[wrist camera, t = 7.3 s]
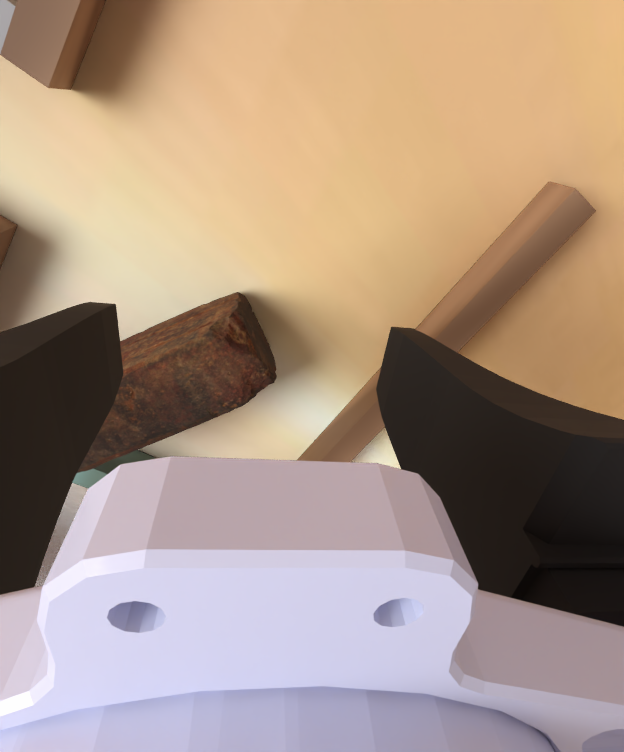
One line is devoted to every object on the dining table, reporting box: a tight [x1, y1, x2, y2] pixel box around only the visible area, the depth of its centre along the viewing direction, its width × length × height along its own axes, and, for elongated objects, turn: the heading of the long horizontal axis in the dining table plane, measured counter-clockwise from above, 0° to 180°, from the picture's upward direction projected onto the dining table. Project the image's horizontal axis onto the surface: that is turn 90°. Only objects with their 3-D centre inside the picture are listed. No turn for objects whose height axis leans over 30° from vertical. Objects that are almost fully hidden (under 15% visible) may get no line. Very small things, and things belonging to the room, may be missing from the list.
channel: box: [0, 0, 596, 489], centre depth 18 cm, size 29×26×2 cm
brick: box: [77, 292, 276, 473], centre depth 21 cm, size 11×4×5 cm, turn 113°
